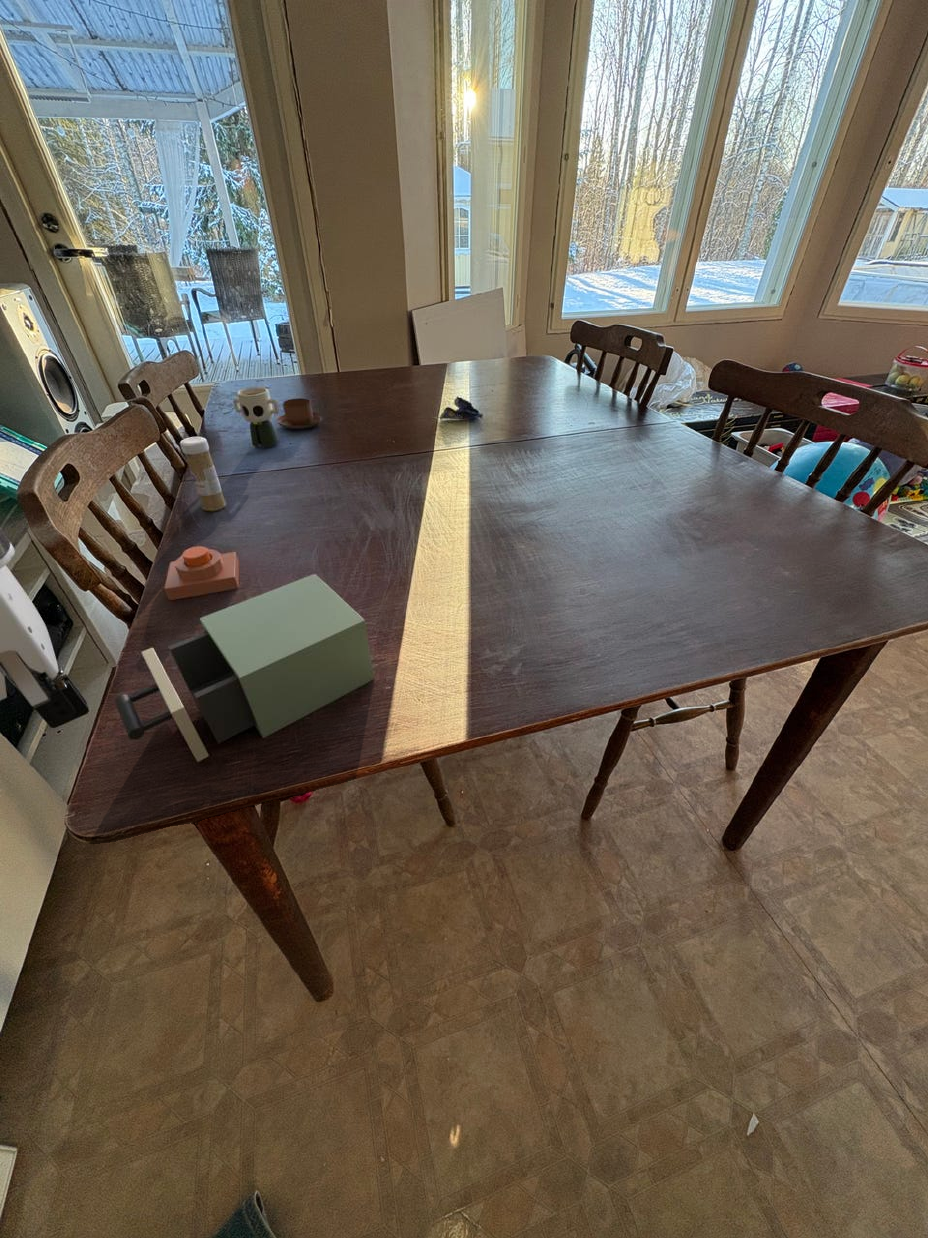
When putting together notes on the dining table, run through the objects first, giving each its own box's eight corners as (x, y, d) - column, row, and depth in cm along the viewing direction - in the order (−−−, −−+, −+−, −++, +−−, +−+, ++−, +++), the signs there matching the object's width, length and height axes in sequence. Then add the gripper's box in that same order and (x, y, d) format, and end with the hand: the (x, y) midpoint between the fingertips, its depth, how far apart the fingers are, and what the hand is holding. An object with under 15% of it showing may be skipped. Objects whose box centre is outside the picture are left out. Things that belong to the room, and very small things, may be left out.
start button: (185, 569, 78) (181, 559, 77) (187, 557, 81) (183, 548, 80) (210, 565, 79) (206, 555, 78) (211, 554, 82) (208, 544, 80)
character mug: (239, 449, 127) (223, 394, 119) (251, 439, 133) (236, 386, 124) (281, 451, 126) (269, 395, 118) (291, 440, 132) (280, 387, 124)
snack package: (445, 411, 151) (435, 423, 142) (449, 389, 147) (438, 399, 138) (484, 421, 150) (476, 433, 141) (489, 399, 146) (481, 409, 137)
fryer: (263, 738, 57) (239, 678, 51) (223, 677, 65) (199, 618, 59) (374, 679, 65) (365, 620, 59) (327, 630, 72) (314, 573, 66)
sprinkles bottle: (197, 509, 102) (173, 441, 93) (216, 500, 105) (194, 434, 97) (214, 513, 100) (190, 445, 92) (232, 504, 103) (211, 438, 95)
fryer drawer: (155, 784, 52) (122, 735, 47) (128, 717, 59) (97, 668, 54) (314, 701, 61) (301, 652, 56) (275, 651, 67) (260, 604, 63)
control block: (169, 600, 78) (159, 579, 75) (174, 573, 84) (165, 552, 81) (238, 588, 80) (231, 567, 78) (239, 562, 86) (232, 541, 84)
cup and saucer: (283, 419, 146) (278, 396, 142) (326, 418, 146) (322, 395, 142) (274, 433, 136) (268, 409, 133) (319, 432, 137) (315, 408, 133)
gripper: (-121, 529, 40) (15, 690, 51) (-136, 622, 31) (33, 792, 42) (-5, 500, 43) (98, 657, 55) (13, 575, 34) (131, 744, 46)
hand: (70, 715), depth 49 cm, fingers closed
